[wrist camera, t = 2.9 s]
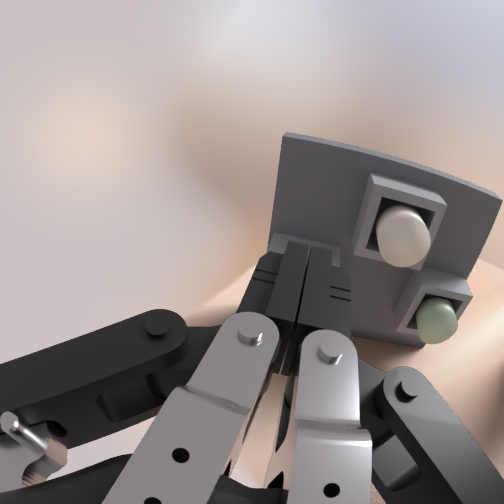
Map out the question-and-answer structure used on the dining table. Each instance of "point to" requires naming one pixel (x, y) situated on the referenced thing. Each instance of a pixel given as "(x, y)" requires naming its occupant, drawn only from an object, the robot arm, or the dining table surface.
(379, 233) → the cream button
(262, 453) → the dining table surface
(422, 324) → the sage button
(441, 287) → the button panel
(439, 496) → the robot arm
